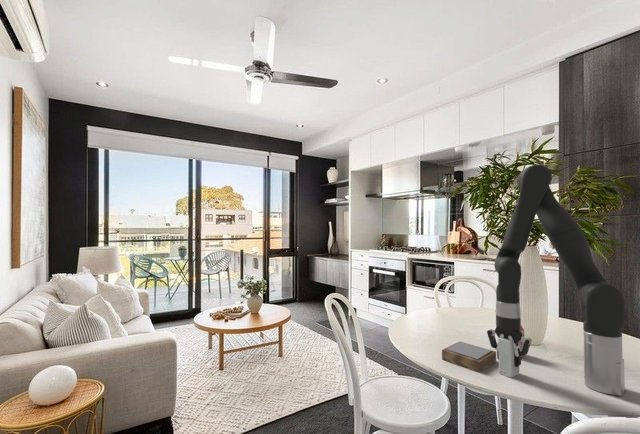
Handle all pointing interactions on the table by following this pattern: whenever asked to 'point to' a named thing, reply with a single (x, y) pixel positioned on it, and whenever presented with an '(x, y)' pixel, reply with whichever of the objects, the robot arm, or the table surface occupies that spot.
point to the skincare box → (507, 358)
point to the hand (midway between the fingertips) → (508, 363)
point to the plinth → (469, 356)
